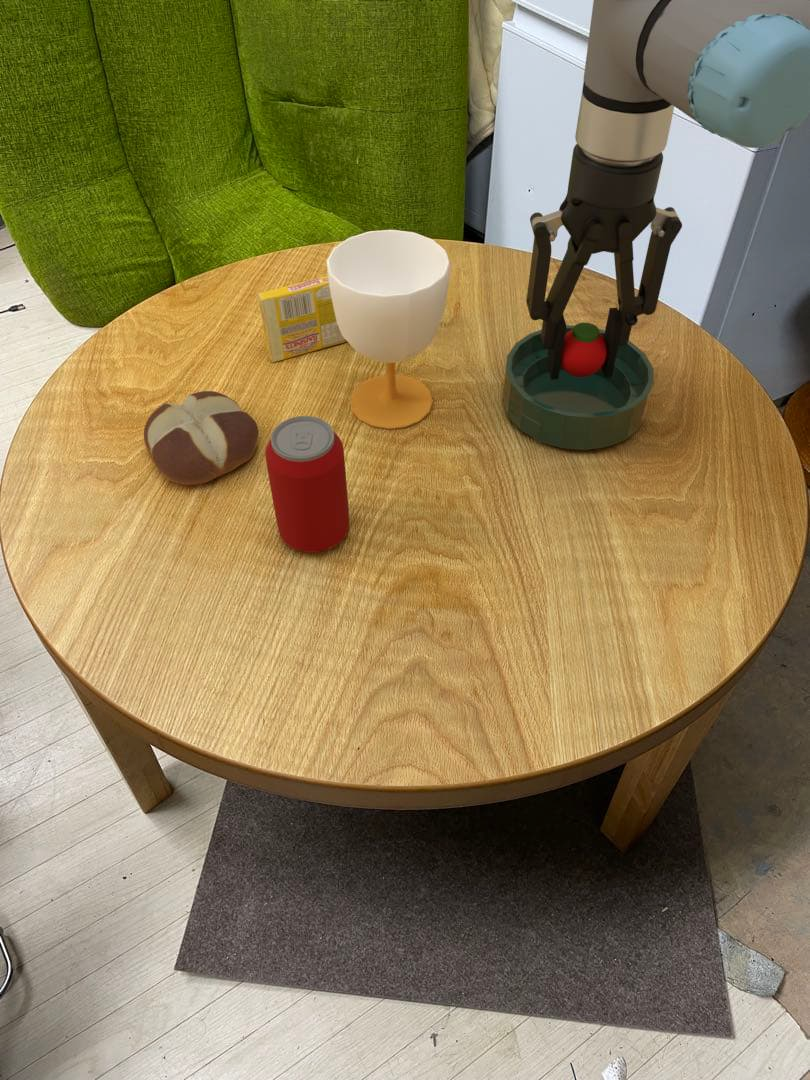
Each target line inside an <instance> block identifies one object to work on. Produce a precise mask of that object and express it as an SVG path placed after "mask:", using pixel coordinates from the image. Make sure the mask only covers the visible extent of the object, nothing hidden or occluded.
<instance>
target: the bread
mask: <svg viewBox="0 0 810 1080" xmlns="http://www.w3.org/2000/svg"><path fill="white" fill-rule="evenodd" d="M258 439H259V427H258V424H257V422H256V420H255V419H254V418H253V417H252V416H251V415H250V414H249V413H248V412H246V411H243V410H242V408H241V406H240V405H239V404H238V403H237V402H236V401H235V400H234V399H233V398H231V397H229V396H228V395H226V394H223V393H221V392H218V391H213V390H203V391H202V390H201V391H197V392H193V393H190V394H188V395H187V396H186V397H185V399H183V401H182V403H181V404H178V403H171V402H167V403H163V404H162V405H160V406H159V407H158V408H156V409H155V410H154V411H153V412H152V413H151V414H150V415H149V417H148V418H147V420H146V422H145V425H144V428H143V440H144V443H145V447H146V449H147V450H148V452H149V453H150V455H151V458H152V460H153V462H154V465H155V466H156V468H157V470H158V471H159V472H160V473H161V474H162V475H163V476H164V478H166V479H168V480H170V481H172V482H174V483H177V484H179V485H187V486H189V485H191V486H193V485H200V484H205V483H209V482H211V481H213V480H214V479H216V478H218V477H220V476H223V475H225V474H227V473H230V472H232V471H233V470H235V469H237V468H238V467H239V466H240V465H243V464H245V463H246V462H249V460H251V458H252V457H253V456H254V453H255V451H256V447H257V444H258Z"/></svg>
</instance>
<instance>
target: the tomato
mask: <svg viewBox="0 0 810 1080" xmlns="http://www.w3.org/2000/svg"><path fill="white" fill-rule="evenodd" d="M599 329H600V328H599V327H598V326H597V325H596V324H593V323H591V322H578V323H576V324H575V325H574V327H573V329H572V330H570V331H569V332H567V333H566V334H565V340H564V346H563V352H562V358H561V367H562V368H563V369H564V370H565V371H566V372H567V373H569V374H571V375H573V376H576V377H586V376H590V375H592V374H594V373H595V372H597V371H598V370H599V369H600V368H601V367H602V365H603V364H604V362H605V360H606V356H607V346H606V342H605V340H604V338H603V337H602V335H601V334H600V333H599Z"/></svg>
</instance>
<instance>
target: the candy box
mask: <svg viewBox="0 0 810 1080" xmlns="http://www.w3.org/2000/svg"><path fill="white" fill-rule="evenodd" d="M257 298H258V304H259V310H260V316H261V321H262V327H263V332H264V338H265V344H266V351H267V356H268V357H269V360H270V361H271V362H272V363H276V362H279V361H283V360H287V359H290V358H294V357H298V356H301V355H304V354H307V353H311V352H315V351H318V350H322V349H325V348H330V347H332V346H333V347H334V346H336V345H339V344H340V345H341V344H343V343H348V342H347V340H346V339H345V338H344V337H343V336H342V334H341V331H340V329H339V327H338V324H337V321H336V317H335V312H334V307H333V303H332V298H331V292H330V287H329V279H328V275H324V276H320V277H317V278H313V279H308V280H305V281H301V282H297V283H294V284H290V285H286V286H282V287H278V288H273V289H271V290H265V291H262V292H258V293H257Z"/></svg>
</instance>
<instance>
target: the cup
mask: <svg viewBox="0 0 810 1080" xmlns="http://www.w3.org/2000/svg"><path fill="white" fill-rule="evenodd" d="M325 263H326V271H327V276H328V279H329V287H330V292H331V298H332V303H333V307H334V312H335V317H336V321H337V324H338V327H339V329H340V331H341V334H342V336H343V337H344V338H345V339H346V340H347V342H346V343H348V344H349V345H350V346H351V347H352V348H353V350H354V351H355V352H356V353H357V354H358V355H359V356H361V357H364V358H366V359H368V360H371V361H373V362H376V363H383V364H385V365H384V366H385V374H382V375H376V376H373V377H371V378H369V379H366V380H363V381H362V382H361V383H360V384H359V385H357V386H356V387H355V388H354V389H353V391H352V394H351V396H350V397H349V403H350V410H351V412H352V413H353V414H354V415H355V417H356V418H357V419H358V420H359V421H361V422H362V423H365V424H367V425H368V426H371V427H373V428H379V429H385V430H395V429H404V428H408V427H410V426H412V425H415V424H418V423H420V422H421V421H422V420H423V419H424V418H426V416H428V415H429V414H430V412H431V409H432V407H433V403H434V401H433V396H432V392H431V390H430V389H429V388H428V387H427V386H426V385H425V384H424V383H423V382H422V381H420V380H418V379H415V378H413V377H411V376H409V375H401V374H396V363H402V362H405V361H408V360H411V359H414V358H415V357H417V356H419V355H420V354H421V353H422V352H423V351H425V349H427V348H428V347H429V346H430V345H431V343H432V342H433V341H434V339H436V336H437V333H438V331H439V327H440V325H441V322H442V319H443V316H444V313H445V311H446V310H445V309H446V304H447V298H448V293H449V285H450V273H451V262H450V259H449V256H448V253H447V251H446V249H444V248H443V247H442V246H441V245H440V244H439V243H438V242H436V241H435V240H433V238H430V237H427V236H425V235H422V234H419V233H417V232H414V231H405V230H398V229H382V230H381V229H380V230H372V231H366V232H363V233H360V234H356V235H353V236H350V237H347V238H346V239H345V240H343V241H342V242H340V243H339V244H338V245H336V246H334V247H333V249H332V250H331V252H330V254H329V256H328V257H327V260H326V261H325Z"/></svg>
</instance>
